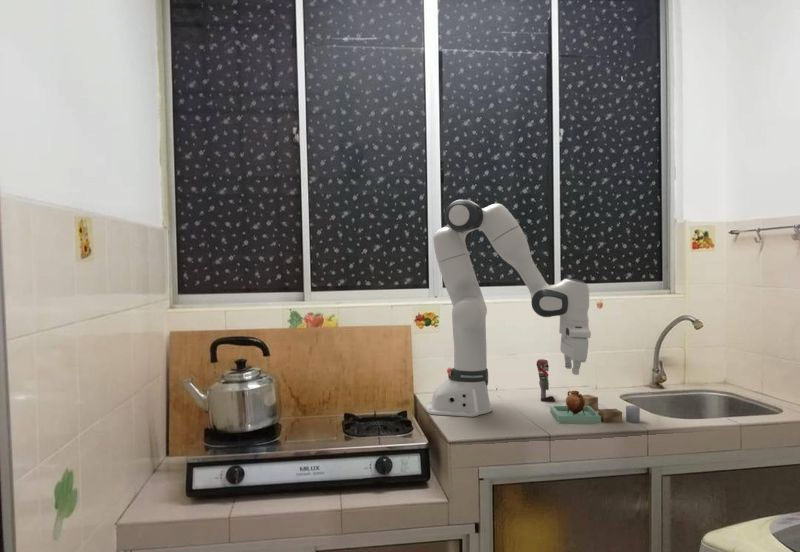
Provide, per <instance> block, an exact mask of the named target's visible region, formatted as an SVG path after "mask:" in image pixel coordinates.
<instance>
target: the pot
mask: <svg viewBox="0 0 800 552" xmlns="http://www.w3.org/2000/svg"><path fill="white" fill-rule="evenodd" d="M582 395H583V394H582V393H580V391H579V390H569V391H567V397H566V398H565V404H566V405H565V406H567V407H568V412H569V410H570V411H571V412H572V413H573V415H574V414H578V413H579V412H581V410H583V408H584V405H585V400H584V398H583V396H582ZM583 413H584V410H583ZM584 415H585V414H584Z"/></svg>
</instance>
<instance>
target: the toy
mask: <svg viewBox="0 0 800 552" xmlns="http://www.w3.org/2000/svg"><path fill="white" fill-rule="evenodd" d="M536 368H537V371H538V377H539V381H538V382H539V387H540V401H541V402H545V403H556V399H555V397H554V396H553V395H549V396H547V391H549V387H550V386H549V384H550V383H549V368H550V366H549V361H548V360H547V359H545V358H544V359H543V358H542V359H540V358H539V359H537V360H536Z"/></svg>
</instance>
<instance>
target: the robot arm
mask: <svg viewBox="0 0 800 552" xmlns="http://www.w3.org/2000/svg"><path fill="white" fill-rule="evenodd" d="M444 214H445V215H444V217H445V222H446V224H447V225H445V226H444V227H443V226H442V227H441V228H439V229H438V230H437V231H435V233H433V237H432V239H433V247H434V255H435V259H436V262H437V265H438V267H439V272H440V274H441V278H442V281H443V284H444V287H445V290H446V291H447V293H448V297H449V299H450V301H451V304H452V306H453V307H452V311H451V321H452V322H451V323H452V337H453V338H452V339H453V360H454V361H453V366H454V367H447V369H446V372H447V376H448V379H446V380H445V381H444V382H443V383H442V384H440V385H439V386H438V387H436V388H435V389H434V391H433V394H432V397H431V398H432V399H431V401H430V402H428V403H427V404H425V411H426V412H427V413H428V414H430V415H436V416H437V415H440V416H442V415H443V416H454V417H471V418H473V417H477V416H479V415H484V414H488V413H490V412H492V410H493V409H492V406H491V401H490V396H489V389H488V386H489V369H488V368H487V367H488V366H487V364H488V363H487V328H486V327H487V326H486V320H487V319H486V316H487V312H488V309H487V305H486V302H485V299H484V296H483V294H482V291H481V288H480V284H479V282H478V279H477V276H476V272H475V270H474V266H473V264H472V260H471V258H470V257H471V256H470V253H469V251H468V248H467V244H466V237H469V236H470V235H472V234H473V233H475V232H476V231H477V230H479V231H481V232H482V233H483V234H484V235H485V236H486V238H487V239H488V241H489V243H490V245H491V246H492V248H493V249H494V251H495V252H496V253H497V254H498V255H499V257H500V258H501V259H502V260H503V261H504V262H506V263H507V264H508V265H510V266H512V268H514V269H515V270H516V272H517V273H518V275H519V276H520V277H521V279H522V281H523V282H524V284H525V286H526V287H527V289H528V291H529V293H530V296H531V308H532V310H533V311H534V312H535V313H536V314H537V315H538V316H540V317H542V318H552V317H557V316H558V317H559V328H558V329H559V330H558V331H559V334H561V337H560V347H559V349H560V353H562V354H564V362H565V364H564V368H565V369H566V370H567V369H568V370H569V369H570V370H571V369H572V370H571V373H572V374H573V375H574V376H579V375H580V368H581V365H582V363H586V361H587V358H588V351H589V339H590V338H591V336H592V335H591V334H592V333H591V330H590V327H589V322H590V321H589V316H588V312H589V309H590V289H589V285H588V284H587V283H586V282H585V281H583V280H579V279H574V278H571V277H570V278H569V277H566V278H565V277H564V279H562V280H560V281H559V282H557V283H555V284H552V285H550V284H549V283H548V282H547V281H546V279H545V278H544V277H543V275H542V274H541V272H540V271H539V269H538V267H537V265H536V264H535V262H534V260H533V258H532V254H531V251H530V250H531V249H530V245H529V243H528V240H527V238H526V235H525V233H524V231H523V228H521V226H520V224H519V223H518V221H517V219H516V218H515V216H514V215H512V213H511V212H510V211H509V210H508V209H507V208H506V206H504V205H503V204H502V203H493V204H489V205H487V206H486V207H483V208H482V207H481V206H480V205H479V204H477V203H476V202H475V201H473V200H469V199H457V200H454V201H452V202H451V203H449V205H448V206H447V208H446V210H445V213H444Z"/></svg>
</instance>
